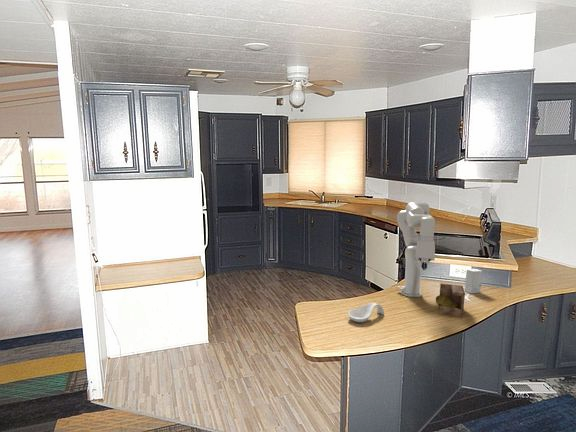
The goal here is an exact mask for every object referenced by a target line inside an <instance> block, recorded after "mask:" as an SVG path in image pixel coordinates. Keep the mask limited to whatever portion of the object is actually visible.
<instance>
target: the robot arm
mask: <svg viewBox="0 0 576 432" xmlns="http://www.w3.org/2000/svg"><path fill="white" fill-rule="evenodd" d="M396 218H397V219H396V220H397V225H398V227H399V229H400V231H401V232H402V236H403V240H404V244H405V246H406V248H405V249H404V250H405V251H404V253H405V254H404V255H405V271H404V274H405V275H404V285H402V286H400V285H397V286H396V290H398V291H401V295H403V296H405V297H409V298H421V297H422V295H423V293H422V292H421V291H420V290H421V278H422V277H421V276H422V271H426V269H427V268H428V263H430V262H432V261H435V256H436V254H435V253H436V245H435V244H436V243H435V241H434V237H435V235H434V234H435V233H434V232H435V222H436V219H435V218H434V217H433V216H432V215H431V214H430V206H429V203H428V202H427V203H426V202H420V201H419V202H417V201H412V202H408V203H407V204H406V206H405V209H404V210H403V209H402V210H400V211H398V212H397V215H396ZM416 228H419V229H420V230H419V233H418V232H417V230H416ZM419 262H420V263H421V265H420V263H419Z"/></svg>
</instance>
